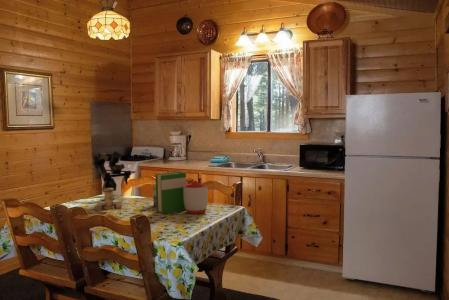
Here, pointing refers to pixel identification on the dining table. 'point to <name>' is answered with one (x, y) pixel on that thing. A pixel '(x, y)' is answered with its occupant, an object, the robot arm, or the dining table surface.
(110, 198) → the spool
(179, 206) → the hardback book
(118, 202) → the notched board
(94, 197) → the dining table surface
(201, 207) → the white plant pot
